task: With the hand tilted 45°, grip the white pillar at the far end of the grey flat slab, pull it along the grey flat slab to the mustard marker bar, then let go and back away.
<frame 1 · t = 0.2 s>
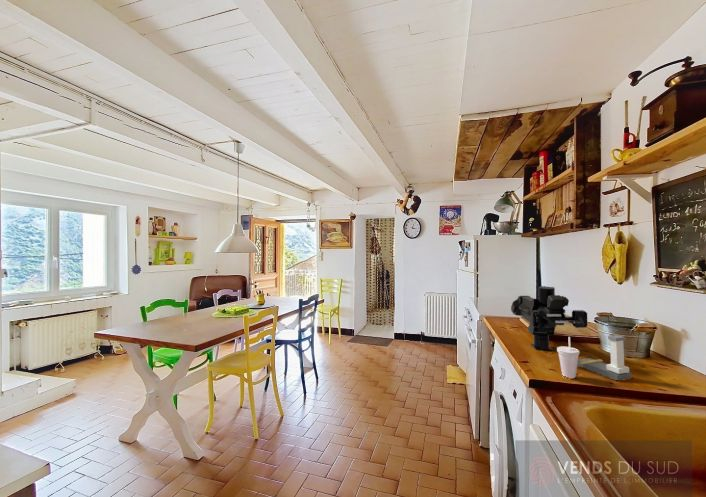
hand: (569, 325, 108), 17 cm above the counter, tool horizontal, fingers open, 9 cm apart
smoothie: (568, 377, 104), on the counter
grey flat slab: (602, 371, 107), on the counter
white pillar: (617, 353, 102), point 8 cm above the counter, slide at 0.5 cm
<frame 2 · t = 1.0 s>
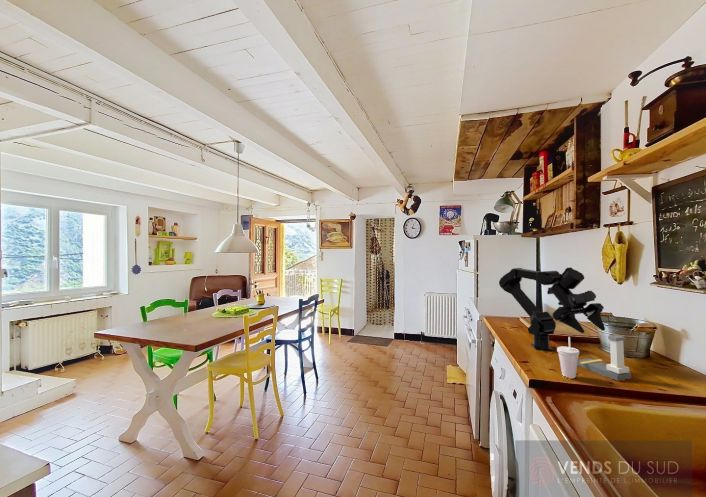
hand: (593, 331, 110), 14 cm above the counter, tool tilted 45°, fingers open, 9 cm apart
nothing on the counter moved.
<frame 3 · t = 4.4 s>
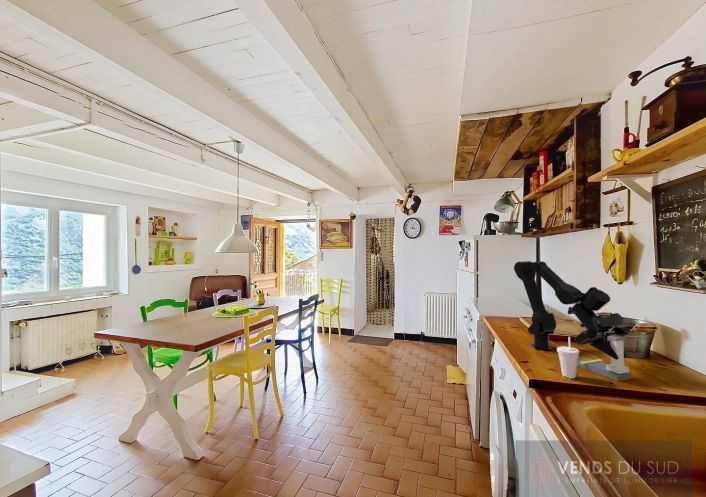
hand: (621, 358, 101), 7 cm above the counter, tool tilted 45°, fingers closed on white pillar, 3 cm apart
white pillar: (617, 353, 102), point 8 cm above the counter, slide at 0.5 cm, touching gripper
everything else where it was.
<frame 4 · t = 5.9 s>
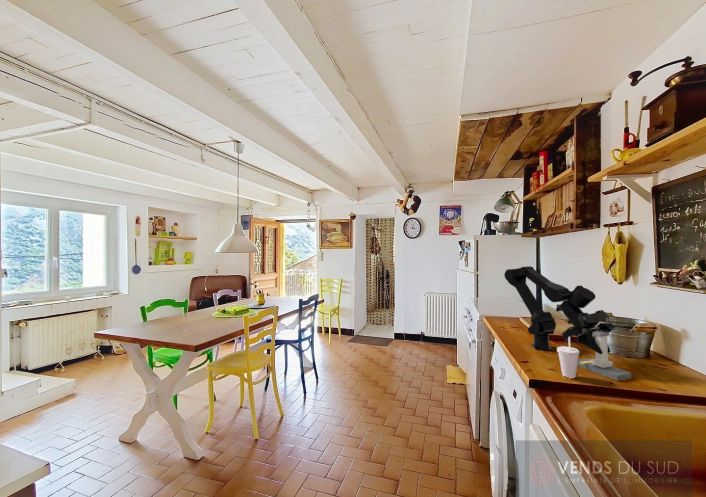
hand: (605, 353, 106), 7 cm above the counter, tool tilted 45°, fingers closed on white pillar, 3 cm apart
white pillar: (601, 348, 108), point 8 cm above the counter, slide at 5.7 cm, touching gripper
everything else where it was.
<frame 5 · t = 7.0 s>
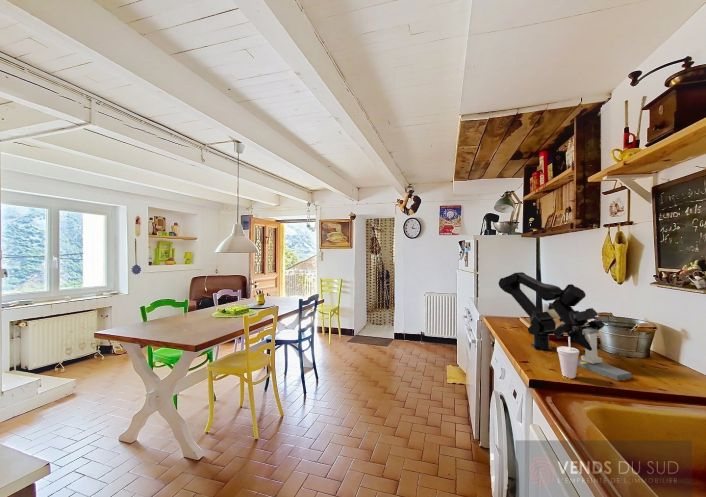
hand: (594, 349, 110), 7 cm above the counter, tool tilted 45°, fingers closed on white pillar, 3 cm apart
white pillar: (591, 345, 111), point 8 cm above the counter, slide at 9.5 cm, touching gripper
everything else where it was.
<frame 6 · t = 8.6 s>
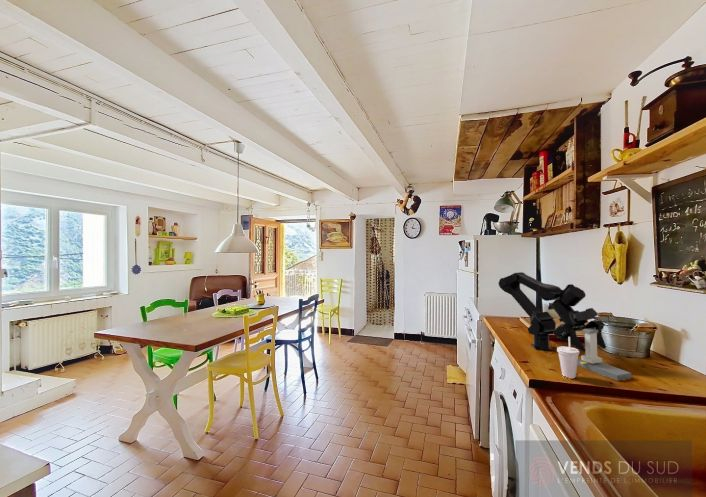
hand: (594, 349, 110), 7 cm above the counter, tool tilted 45°, fingers open, 9 cm apart
white pillar: (591, 345, 111), point 8 cm above the counter, slide at 9.5 cm
everything else where it was.
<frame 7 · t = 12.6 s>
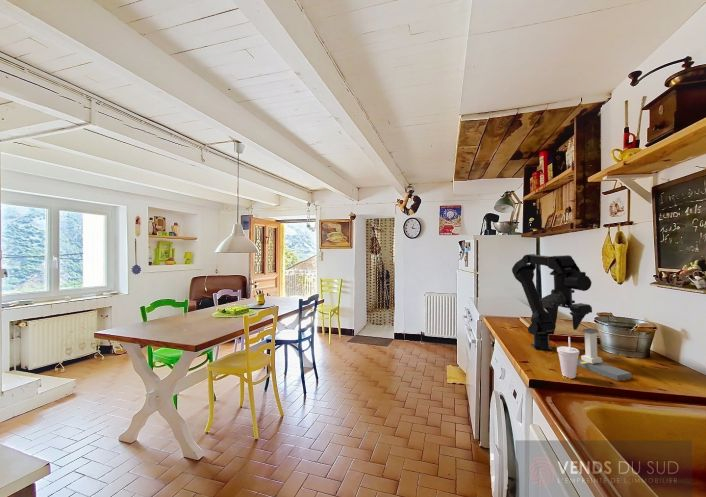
hand: (564, 326, 120), 13 cm above the counter, tool pointing down, fingers open, 9 cm apart
nothing on the counter moved.
at the end: white pillar slide at 9.5 cm; the gripper is holding nothing; smoothie moved 0.2 cm from its start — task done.
